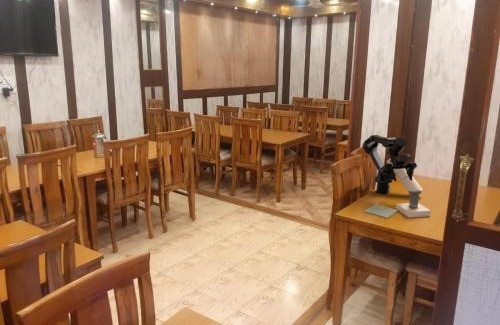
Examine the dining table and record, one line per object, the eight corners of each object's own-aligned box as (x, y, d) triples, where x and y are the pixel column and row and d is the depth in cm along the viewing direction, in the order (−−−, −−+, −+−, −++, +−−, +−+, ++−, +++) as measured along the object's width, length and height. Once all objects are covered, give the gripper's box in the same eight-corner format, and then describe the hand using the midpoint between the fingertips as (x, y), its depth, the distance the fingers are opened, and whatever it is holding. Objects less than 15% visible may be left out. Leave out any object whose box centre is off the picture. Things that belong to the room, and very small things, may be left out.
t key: (405, 211, 206) (408, 190, 203) (416, 211, 207) (418, 189, 204) (408, 213, 203) (411, 192, 200) (419, 213, 204) (422, 191, 201)
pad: (363, 212, 206) (364, 210, 206) (374, 205, 215) (374, 204, 215) (387, 218, 197) (387, 217, 197) (397, 211, 207) (398, 210, 206)
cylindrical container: (422, 190, 230) (396, 155, 237) (423, 189, 223) (396, 154, 230) (411, 196, 231) (386, 162, 238) (412, 195, 224) (386, 160, 232)
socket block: (396, 208, 210) (396, 203, 209) (416, 207, 211) (417, 202, 211) (408, 217, 198) (408, 212, 197) (429, 216, 200) (430, 210, 199)
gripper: (385, 149, 212) (394, 174, 204) (416, 148, 215) (426, 172, 207) (377, 160, 222) (385, 184, 214) (407, 158, 224) (416, 182, 217)
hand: (403, 180), depth 213 cm, fingers open, 9 cm apart
